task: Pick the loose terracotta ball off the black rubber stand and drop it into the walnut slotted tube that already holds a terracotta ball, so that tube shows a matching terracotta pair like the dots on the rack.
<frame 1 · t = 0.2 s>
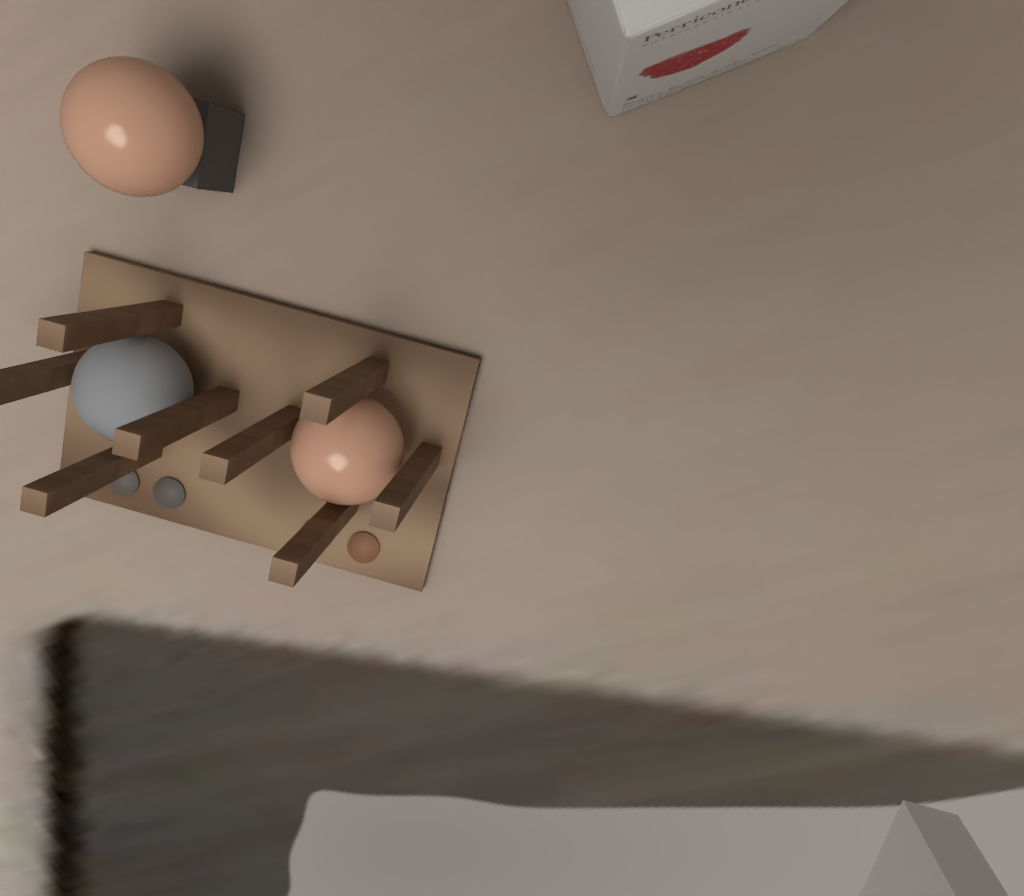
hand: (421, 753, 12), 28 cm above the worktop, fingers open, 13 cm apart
stand: (202, 144, 37), on the worktop
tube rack: (263, 424, 40), on the worktop
ball loose: (134, 128, 31), point 6 cm above the worktop, touching stand
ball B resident: (363, 435, 39), point 1 cm above the worktop, touching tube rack
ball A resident: (162, 380, 39), point 1 cm above the worktop, touching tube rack
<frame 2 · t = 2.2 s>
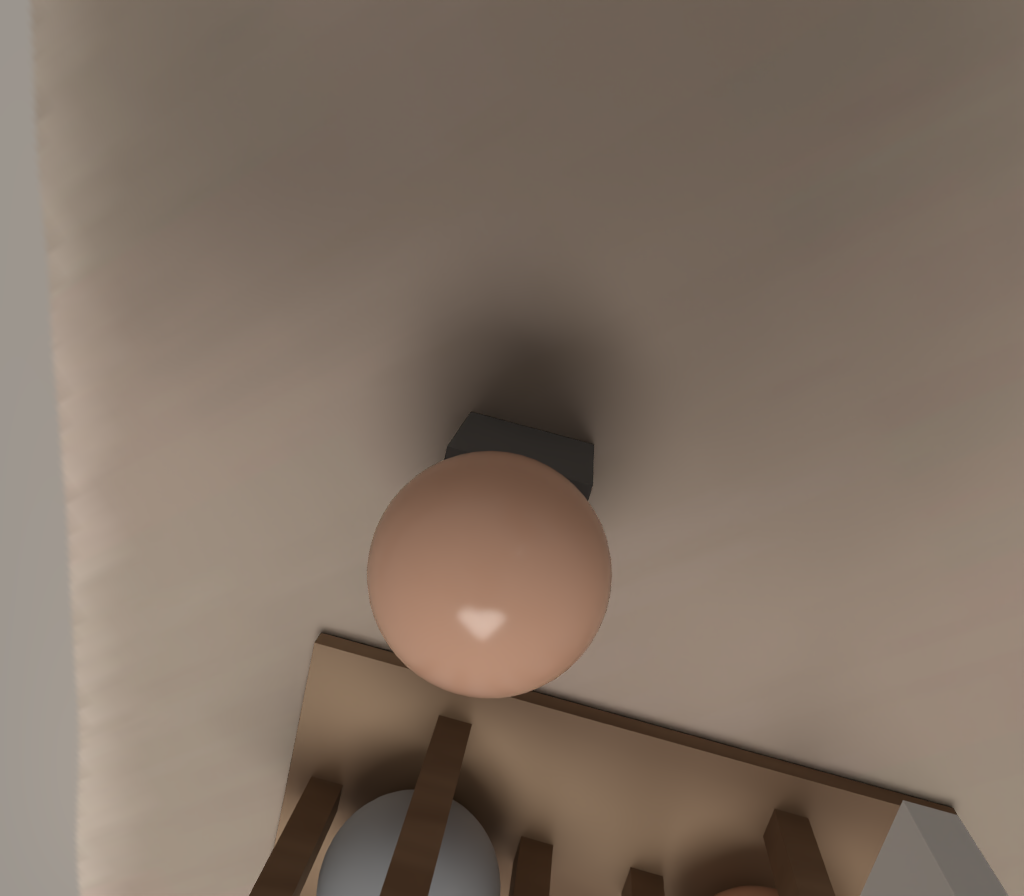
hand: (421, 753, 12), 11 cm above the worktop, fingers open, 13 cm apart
stand: (517, 486, 22), on the worktop
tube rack: (579, 879, 26), on the worktop
ball loose: (489, 571, 17), point 6 cm above the worktop, touching stand
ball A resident: (428, 823, 25), point 1 cm above the worktop, touching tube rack
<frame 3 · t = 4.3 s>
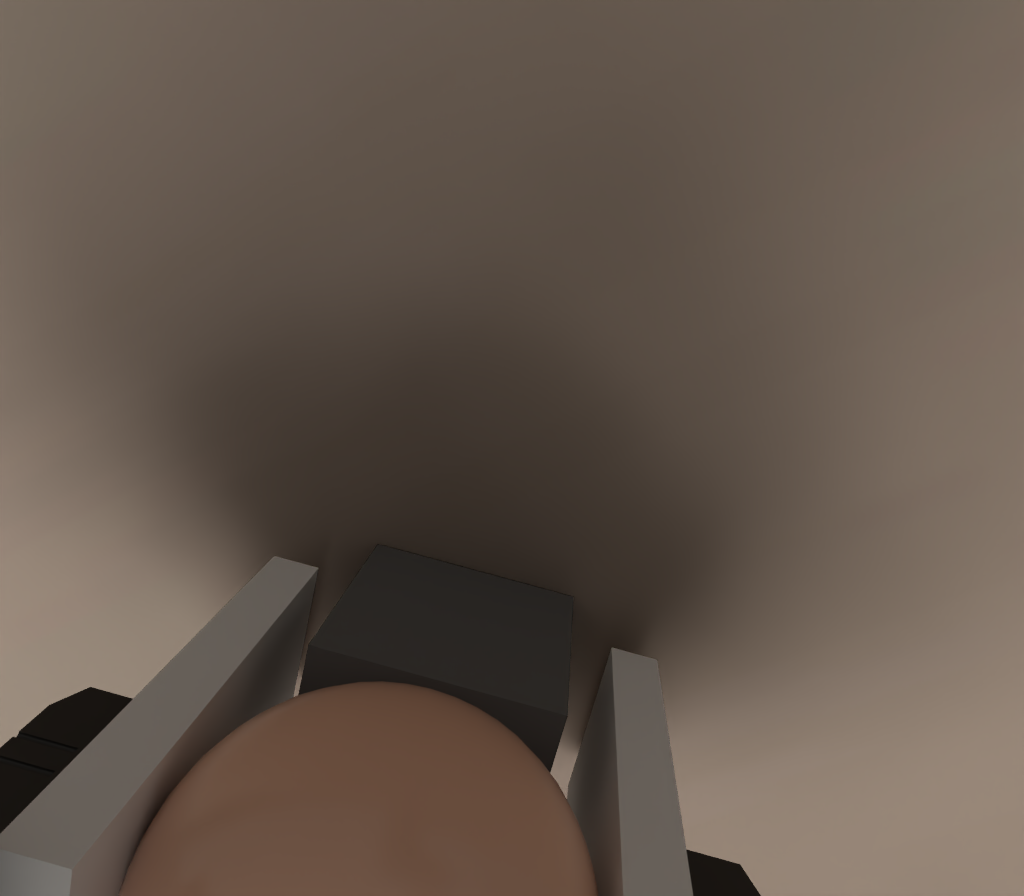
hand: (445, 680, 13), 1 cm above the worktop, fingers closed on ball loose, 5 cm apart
stand: (452, 658, 14), on the worktop
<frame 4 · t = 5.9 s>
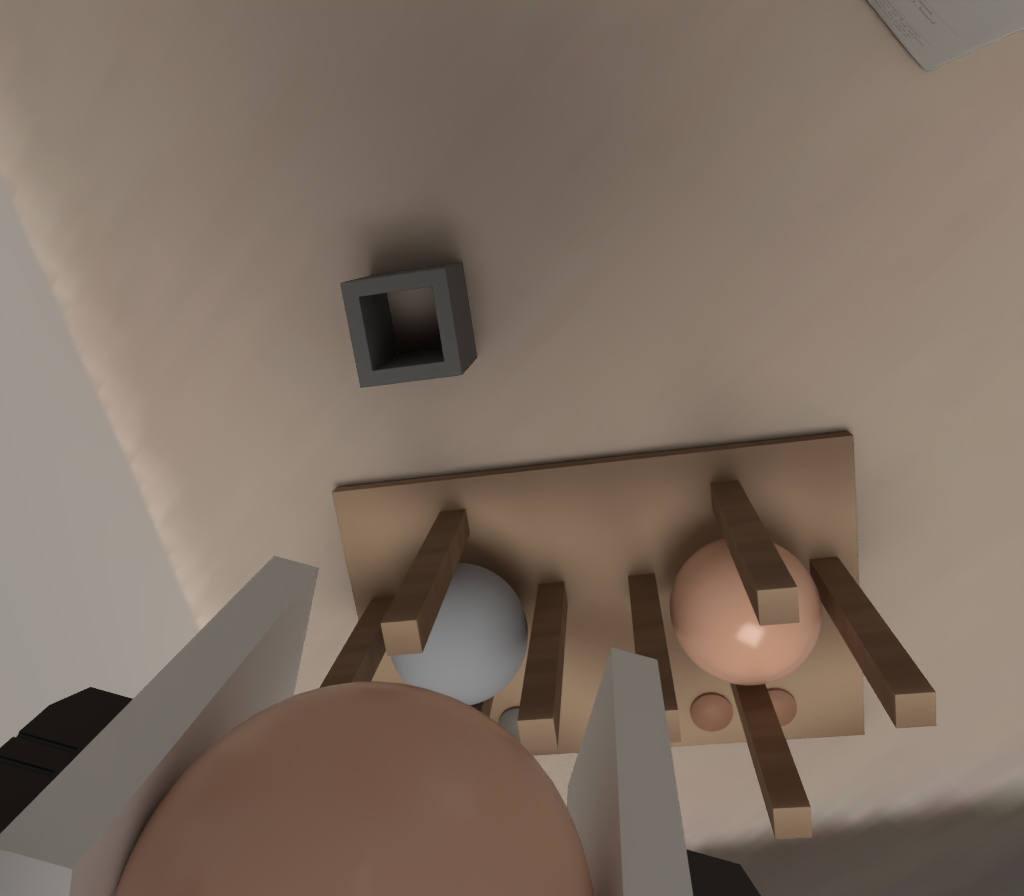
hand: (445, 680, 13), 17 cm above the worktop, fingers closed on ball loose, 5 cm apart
stand: (423, 316, 29), on the worktop
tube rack: (600, 607, 32), on the worktop
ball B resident: (732, 578, 30), point 1 cm above the worktop, touching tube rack
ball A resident: (468, 602, 32), point 1 cm above the worktop, touching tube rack
when the fingers open (10 cm above the worktop, at t = 7.8 s): ball loose drops 7 cm, resting on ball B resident, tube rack.
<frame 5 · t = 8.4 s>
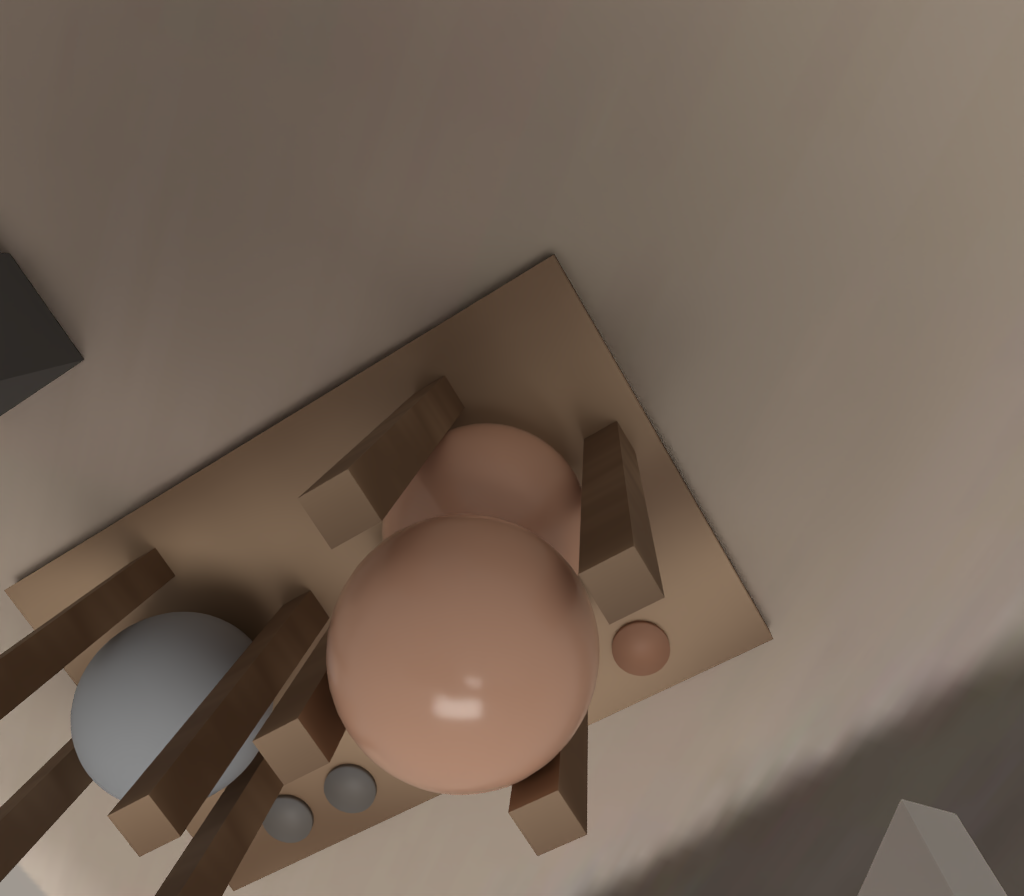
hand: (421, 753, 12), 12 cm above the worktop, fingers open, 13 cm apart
stand: (2, 338, 23), on the worktop
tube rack: (378, 604, 24), on the worktop
ball loose: (464, 648, 15), point 8 cm above the worktop, tilted 21°, touching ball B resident, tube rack
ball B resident: (503, 504, 22), point 1 cm above the worktop, tilted 7°, touching ball loose, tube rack
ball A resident: (217, 659, 24), point 1 cm above the worktop, touching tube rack
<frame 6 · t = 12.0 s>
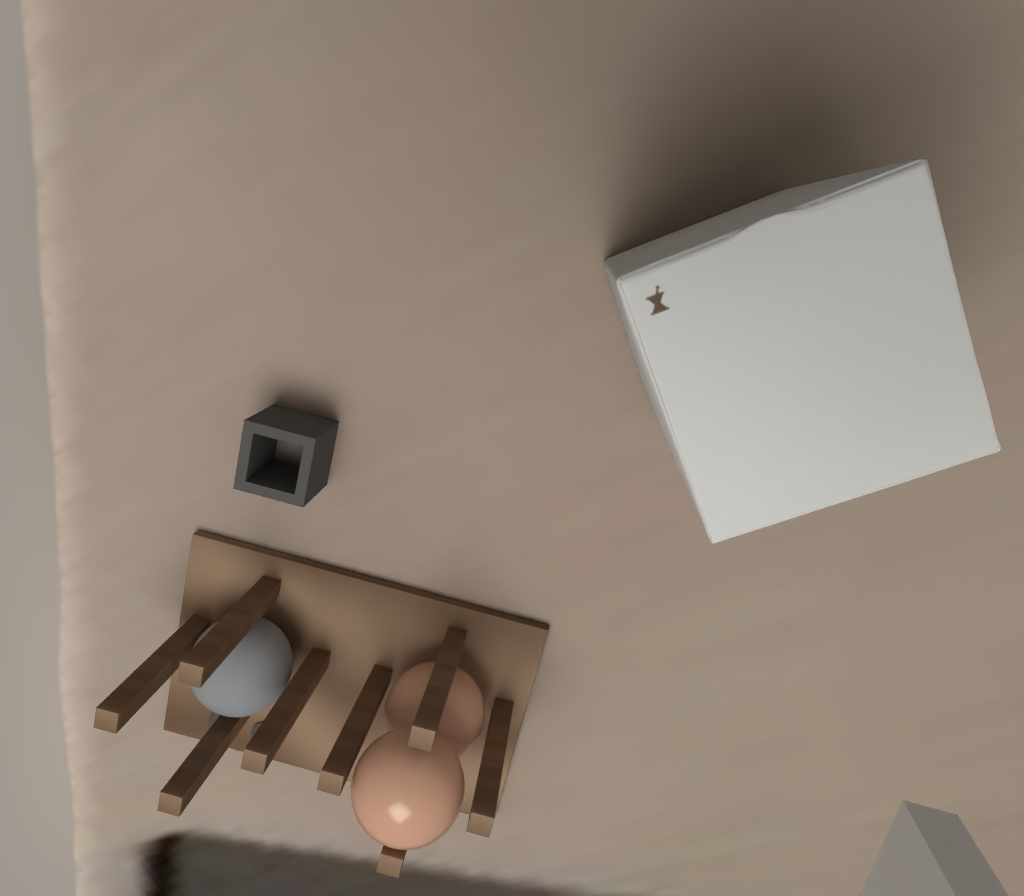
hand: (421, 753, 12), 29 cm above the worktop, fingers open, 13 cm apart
supplement box: (724, 316, 38), on the worktop
stand: (300, 445, 41), on the worktop
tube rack: (350, 676, 44), on the worktop
ball loose: (408, 786, 36), point 8 cm above the worktop, tilted 21°, touching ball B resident, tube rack
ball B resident: (442, 691, 43), point 1 cm above the worktop, tilted 7°, touching ball loose, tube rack
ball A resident: (260, 641, 43), point 1 cm above the worktop, touching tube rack
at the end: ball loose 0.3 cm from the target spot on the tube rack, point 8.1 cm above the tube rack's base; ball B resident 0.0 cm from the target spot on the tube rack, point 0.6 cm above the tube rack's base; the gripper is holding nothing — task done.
